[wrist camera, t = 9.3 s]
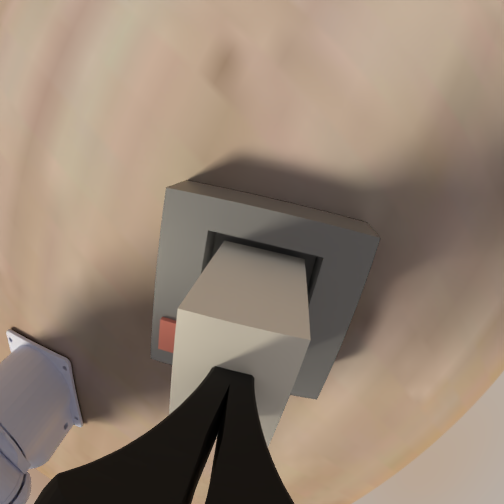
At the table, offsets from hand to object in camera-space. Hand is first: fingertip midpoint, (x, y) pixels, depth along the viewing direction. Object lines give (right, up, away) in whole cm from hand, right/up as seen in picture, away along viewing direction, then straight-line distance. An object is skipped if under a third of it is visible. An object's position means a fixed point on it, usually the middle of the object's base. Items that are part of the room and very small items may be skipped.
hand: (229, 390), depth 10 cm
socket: (+1, +3, +8) cm, 9 cm away
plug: (+1, +3, +8) cm, 8 cm away
